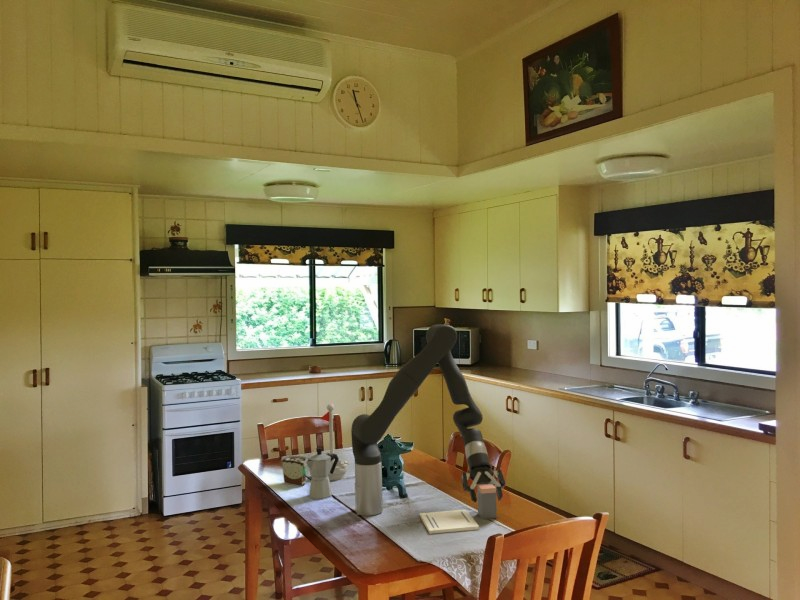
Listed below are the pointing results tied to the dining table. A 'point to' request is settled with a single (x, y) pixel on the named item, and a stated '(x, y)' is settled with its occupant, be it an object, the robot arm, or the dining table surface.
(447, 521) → the notepad
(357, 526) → the dining table surface
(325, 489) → the coffee maker
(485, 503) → the grey pink block
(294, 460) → the food container
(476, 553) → the dining table surface
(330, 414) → the flag stand
